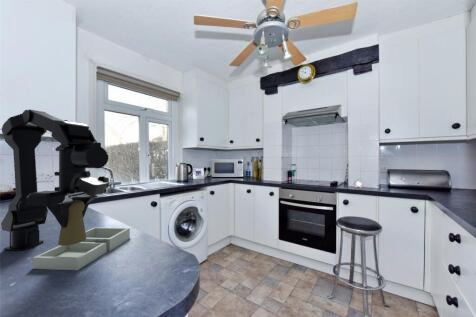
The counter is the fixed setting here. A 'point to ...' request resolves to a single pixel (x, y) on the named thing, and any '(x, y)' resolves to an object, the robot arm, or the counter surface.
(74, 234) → the cork
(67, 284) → the counter surface
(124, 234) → the case
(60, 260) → the lid
